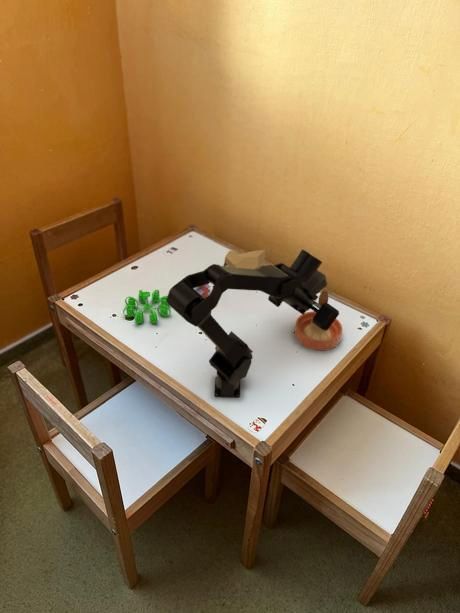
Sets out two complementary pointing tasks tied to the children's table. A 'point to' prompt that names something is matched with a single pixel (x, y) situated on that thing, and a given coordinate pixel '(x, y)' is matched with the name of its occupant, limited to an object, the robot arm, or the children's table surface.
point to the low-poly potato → (245, 259)
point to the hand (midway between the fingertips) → (317, 311)
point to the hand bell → (314, 330)
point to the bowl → (312, 343)
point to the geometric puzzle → (203, 290)
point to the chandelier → (146, 306)
